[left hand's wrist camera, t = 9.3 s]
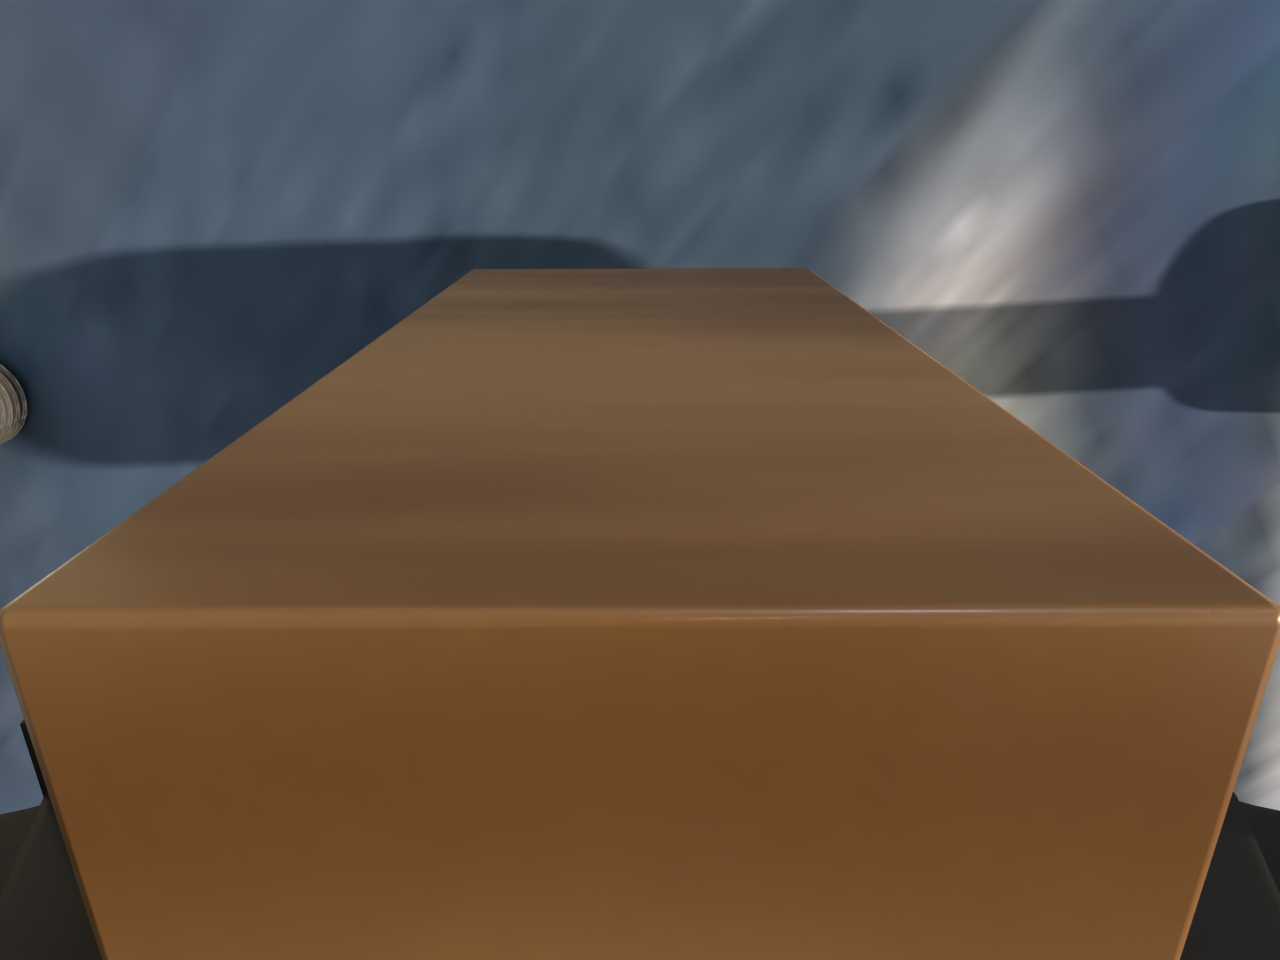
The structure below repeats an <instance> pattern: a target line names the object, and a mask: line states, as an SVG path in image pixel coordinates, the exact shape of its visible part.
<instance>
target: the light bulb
mask: <svg viewBox="0 0 1280 960" xmlns="http://www.w3.org/2000/svg"><path fill="white" fill-rule="evenodd" d="M26 416H27V401H26V398H25V394H24V392H23V389H22V387H21V386H20V384H19V383H18V381H17V380H16V378H15V377H14V376H13V375H12V374H11V373H10V372H9V371H8V370H7V369H6V368H5V367H3V366H2V365H1V364H0V444H2V443H4V442H7V441H8V440H10V439H12V438H13V437H14V436H15V435H17V433H18V432H19V431H20V430H21V428H22V427H23V425H24V423H25V419H26Z"/></svg>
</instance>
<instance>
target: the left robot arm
mask: <svg viewBox="0 0 1280 960" xmlns="http://www.w3.org/2000/svg"><path fill="white" fill-rule="evenodd" d="M20 726H21V729H22V732H23V735H24V738H25V741H26V744H27V747H28V750H29V753H30V756H31V759H32V763H33V766H34V769H35V772H36V775H37V778H38V781H39V784H40V787H41V790H42V793H43V796H44V798H43V800H42V802H41V805H40V806H36V807H32V808H29V809H25V810H20V811H15V812H10V813H6V814H1V815H0V960H102V958H101V955H100V952H99V949H98V945H97V942H96V939H95V936H94V933H93V930H92V927H91V924H90V921H89V918H88V915H87V911H86V908H85V905H84V902H83V899H82V896H81V893H80V890H79V887H78V884H77V881H76V877H75V874H74V871H73V868H72V865H71V862H70V859H69V856H68V853H67V850H66V847H65V843H64V840H63V837H62V834H61V831H60V828H59V825H58V822H57V819H56V816H55V813H54V809H53V806H52V803H51V800H50V797H49V794H48V791H47V788H46V785H45V782H44V779H43V775H42V772H41V769H40V766H39V763H38V760H37V757H36V754H35V751H34V748H33V745H32V741H31V738H30V735H29V732H28V729H27V726H26V723H25V720H23V721H22V722H21V723H20ZM1180 960H1280V811H1278V810H1273V809H1268V808H1264V807H1259V806H1254V805H1251V804H1247V803H1243V802H1240V801H1238V798H1237V796H1236V795H1235V793H1234V792H1233V793H1232V796H1231V799H1230V802H1229V806H1228V809H1227V812H1226V815H1225V818H1224V821H1223V825H1222V828H1221V831H1220V834H1219V837H1218V840H1217V843H1216V847H1215V850H1214V853H1213V856H1212V859H1211V862H1210V866H1209V869H1208V872H1207V875H1206V878H1205V881H1204V885H1203V888H1202V891H1201V894H1200V897H1199V900H1198V903H1197V907H1196V910H1195V913H1194V916H1193V919H1192V922H1191V926H1190V929H1189V932H1188V935H1187V938H1186V941H1185V945H1184V948H1183V951H1182V954H1181V957H1180Z"/></svg>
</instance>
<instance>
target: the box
mask: <svg viewBox="0 0 1280 960" xmlns="http://www.w3.org/2000/svg"><path fill="white" fill-rule="evenodd" d="M1279 644H1280V606H1279V605H1277V604H1276V603H1274V602H1273V601H1272V600H1270V599H1269V598H1267V597H1266V596H1265V595H1263V594H1262V593H1260V592H1259V591H1258V590H1256V589H1255V588H1253V587H1252V586H1251V585H1249V584H1248V583H1246V582H1245V581H1244V580H1242V579H1241V578H1239V577H1238V576H1237V575H1235V574H1234V573H1232V572H1231V571H1230V570H1228V569H1227V568H1225V567H1224V566H1223V565H1221V564H1220V563H1218V562H1217V561H1216V560H1214V559H1213V558H1212V557H1210V556H1209V555H1207V554H1206V553H1205V552H1203V551H1202V550H1200V549H1199V548H1198V547H1196V546H1195V545H1193V544H1192V543H1191V542H1189V541H1188V540H1186V539H1185V538H1184V537H1182V536H1181V535H1179V534H1178V533H1177V532H1175V531H1174V530H1172V529H1171V528H1170V527H1168V526H1167V525H1165V524H1164V523H1163V522H1161V521H1160V520H1158V519H1157V518H1156V517H1154V516H1153V515H1151V514H1150V513H1149V512H1147V511H1146V510H1144V509H1143V508H1142V507H1140V506H1139V505H1137V504H1136V503H1135V502H1133V501H1132V500H1130V499H1129V498H1128V497H1126V496H1125V495H1123V494H1122V493H1121V492H1119V491H1118V490H1117V489H1115V488H1114V487H1112V486H1111V485H1110V484H1108V483H1107V482H1105V481H1104V480H1103V479H1101V478H1100V477H1098V476H1097V475H1096V474H1094V473H1093V472H1091V471H1090V470H1089V469H1087V468H1086V467H1084V466H1083V465H1082V464H1080V463H1079V462H1077V461H1076V460H1075V459H1073V458H1072V457H1070V456H1069V455H1068V454H1066V453H1065V452H1063V451H1062V450H1061V449H1059V448H1058V447H1056V446H1055V445H1054V444H1052V443H1051V442H1049V441H1048V440H1047V439H1045V438H1044V437H1042V436H1041V435H1040V434H1038V433H1037V432H1035V431H1034V430H1033V429H1031V428H1030V427H1028V426H1027V425H1026V424H1024V423H1023V422H1022V421H1020V420H1019V419H1017V418H1016V417H1015V416H1013V415H1012V414H1010V413H1009V412H1008V411H1006V410H1005V409H1003V408H1002V407H1001V406H999V405H998V404H996V403H995V402H994V401H992V400H991V399H989V398H988V397H987V396H985V395H984V394H982V393H981V392H980V391H978V390H977V389H975V388H974V387H973V386H971V385H970V384H968V383H967V382H966V381H964V380H963V379H961V378H960V377H959V376H957V375H956V374H954V373H953V372H952V371H950V370H949V369H947V368H946V367H945V366H943V365H942V364H940V363H939V362H938V361H936V360H935V359H933V358H932V357H931V356H929V355H928V354H927V353H925V352H924V351H922V350H921V349H920V348H918V347H917V346H915V345H914V344H913V343H911V342H910V341H908V340H907V339H906V338H904V337H903V336H901V335H900V334H899V333H897V332H896V331H894V330H893V329H892V328H890V327H889V326H887V325H886V324H885V323H883V322H882V321H880V320H879V319H878V318H876V317H875V316H873V315H872V314H871V313H869V312H868V311H866V310H865V309H864V308H862V307H861V306H859V305H858V304H857V303H855V302H854V301H852V300H851V299H850V298H848V297H847V296H845V295H844V294H843V293H841V292H840V291H838V290H837V289H836V288H834V287H833V286H832V285H830V284H829V283H827V282H826V281H825V280H823V279H822V278H820V277H819V276H818V275H816V274H815V273H813V272H812V271H811V270H809V269H807V268H691V269H473V270H471V271H470V272H468V273H467V274H466V275H464V276H463V277H461V278H460V279H459V280H457V281H456V282H454V283H453V284H452V285H450V286H449V287H447V288H446V289H445V290H443V291H442V292H441V293H439V294H438V295H436V296H435V297H434V298H432V299H431V300H429V301H428V302H427V303H425V304H424V305H422V306H421V307H420V308H418V309H417V310H416V311H414V312H413V313H411V314H410V315H409V316H407V317H406V318H404V319H403V320H402V321H400V322H399V323H398V324H396V325H395V326H393V327H392V328H391V329H389V330H388V331H386V332H385V333H384V334H382V335H381V336H379V337H378V338H377V339H375V340H374V341H373V342H371V343H370V344H368V345H367V346H366V347H364V348H363V349H361V350H360V351H359V352H357V353H356V354H354V355H353V356H352V357H350V358H349V359H348V360H346V361H345V362H343V363H342V364H341V365H339V366H338V367H336V368H335V369H334V370H332V371H331V372H329V373H328V374H327V375H325V376H324V377H323V378H321V379H320V380H318V381H317V382H316V383H314V384H313V385H311V386H310V387H309V388H307V389H306V390H305V391H303V392H302V393H300V394H299V395H298V396H296V397H295V398H293V399H292V400H291V401H289V402H288V403H286V404H285V405H284V406H282V407H281V408H280V409H278V410H277V411H275V412H274V413H273V414H271V415H270V416H268V417H267V418H266V419H264V420H263V421H261V422H260V423H259V424H257V425H256V426H255V427H253V428H252V429H250V430H249V431H248V432H246V433H245V434H243V435H242V436H241V437H239V438H238V439H236V440H235V441H234V442H232V443H231V444H230V445H228V446H227V447H225V448H224V449H223V450H221V451H220V452H218V453H217V454H216V455H214V456H213V457H211V458H210V459H209V460H207V461H206V462H205V463H203V464H202V465H200V466H199V467H198V468H196V469H195V470H193V471H192V472H191V473H189V474H188V475H187V476H185V477H184V478H182V479H181V480H180V481H178V482H177V483H175V484H174V485H173V486H171V487H170V488H168V489H167V490H166V491H164V492H163V493H162V494H160V495H159V496H157V497H156V498H155V499H153V500H152V501H150V502H149V503H148V504H146V505H145V506H143V507H142V508H141V509H139V510H138V511H137V512H135V513H134V514H132V515H131V516H130V517H128V518H127V519H125V520H124V521H123V522H121V523H120V524H118V525H117V526H116V527H114V528H113V529H112V530H110V531H109V532H107V533H106V534H105V535H103V536H102V537H100V538H99V539H98V540H96V541H95V542H93V543H92V544H91V545H89V546H88V547H87V548H85V549H84V550H82V551H81V552H80V553H78V554H77V555H75V556H74V557H73V558H71V559H70V560H69V561H67V562H66V563H64V564H63V565H62V566H60V567H59V568H57V569H56V570H55V571H53V572H52V573H50V574H49V575H48V576H46V577H45V578H44V579H42V580H41V581H39V582H38V583H37V584H35V585H34V586H32V587H31V588H30V589H28V590H27V591H25V592H24V593H23V594H21V595H20V596H19V597H17V598H16V599H14V600H13V601H12V602H10V603H9V604H7V605H6V606H5V607H3V608H2V609H1V610H0V646H1V649H2V652H3V655H4V658H5V661H6V664H7V667H8V670H9V673H10V676H11V680H12V683H13V686H14V689H15V692H16V695H17V698H18V701H19V704H20V707H21V711H22V714H23V717H24V720H25V723H26V726H27V729H28V732H29V735H30V738H31V741H32V745H33V748H34V751H35V754H36V757H37V760H38V763H39V766H40V769H41V772H42V775H43V779H44V782H45V785H46V788H47V791H48V794H49V797H50V800H51V803H52V806H53V809H54V813H55V816H56V819H57V822H58V825H59V828H60V831H61V834H62V837H63V840H64V843H65V847H66V850H67V853H68V856H69V859H70V862H71V865H72V868H73V871H74V874H75V877H76V881H77V884H78V887H79V890H80V893H81V896H82V899H83V902H84V905H85V908H86V911H87V915H88V918H89V921H90V924H91V927H92V930H93V933H94V936H95V939H96V942H97V945H98V949H99V952H100V955H101V958H102V960H1180V957H1181V954H1182V951H1183V948H1184V945H1185V941H1186V938H1187V935H1188V932H1189V929H1190V926H1191V922H1192V919H1193V916H1194V913H1195V910H1196V907H1197V903H1198V900H1199V897H1200V894H1201V891H1202V888H1203V885H1204V881H1205V878H1206V875H1207V872H1208V869H1209V866H1210V862H1211V859H1212V856H1213V853H1214V850H1215V847H1216V843H1217V840H1218V837H1219V834H1220V831H1221V828H1222V825H1223V821H1224V818H1225V815H1226V812H1227V809H1228V806H1229V802H1230V799H1231V796H1232V793H1233V790H1234V787H1235V783H1236V780H1237V777H1238V774H1239V771H1240V768H1241V765H1242V761H1243V758H1244V755H1245V752H1246V749H1247V746H1248V742H1249V739H1250V736H1251V733H1252V730H1253V727H1254V723H1255V720H1256V717H1257V714H1258V711H1259V708H1260V705H1261V701H1262V698H1263V695H1264V692H1265V689H1266V686H1267V682H1268V679H1269V676H1270V673H1271V670H1272V667H1273V663H1274V660H1275V657H1276V654H1277V651H1278V648H1279Z"/></svg>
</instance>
